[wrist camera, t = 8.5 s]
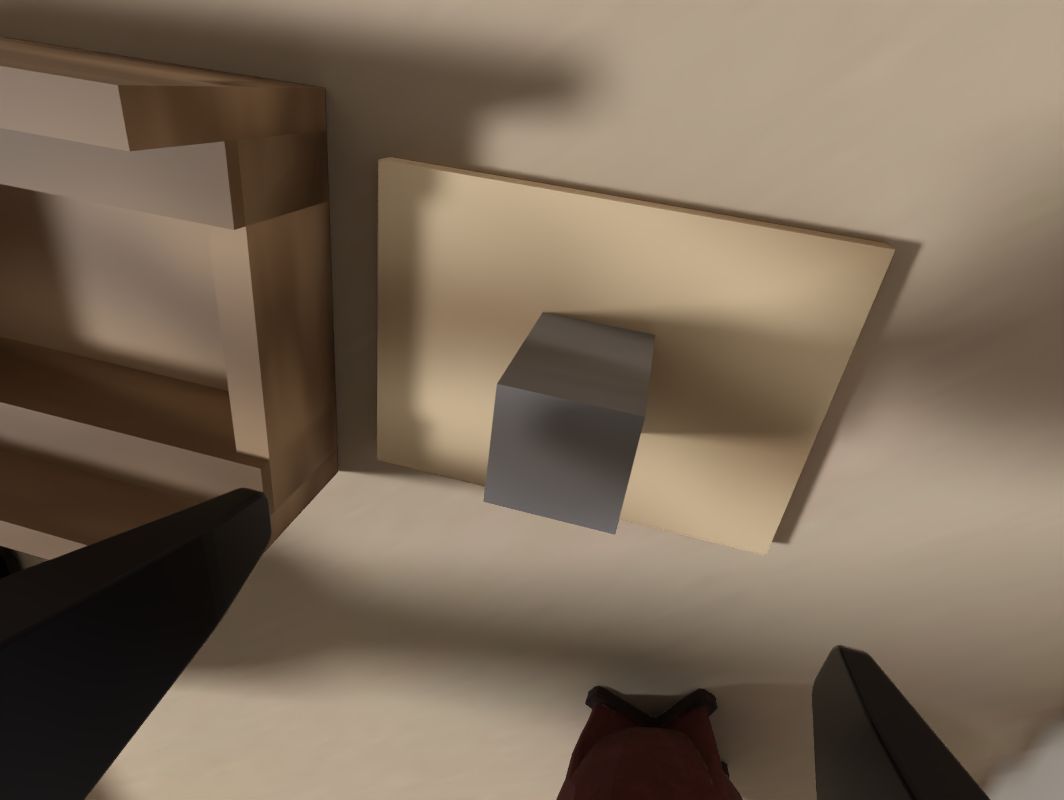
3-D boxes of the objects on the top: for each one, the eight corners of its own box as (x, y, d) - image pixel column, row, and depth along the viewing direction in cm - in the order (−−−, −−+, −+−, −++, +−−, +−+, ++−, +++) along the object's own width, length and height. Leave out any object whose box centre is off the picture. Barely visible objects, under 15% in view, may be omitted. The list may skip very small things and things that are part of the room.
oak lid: (761, 530, 19) (788, 685, 14) (392, 440, 21) (299, 552, 16) (880, 238, 14) (982, 315, 10) (398, 155, 16) (271, 183, 11)
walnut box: (338, 471, 21) (212, 608, 15) (-23, 380, 23) (-248, 472, 17) (324, 88, 15) (117, 85, 10) (-154, 12, 17) (-552, -26, 12)
